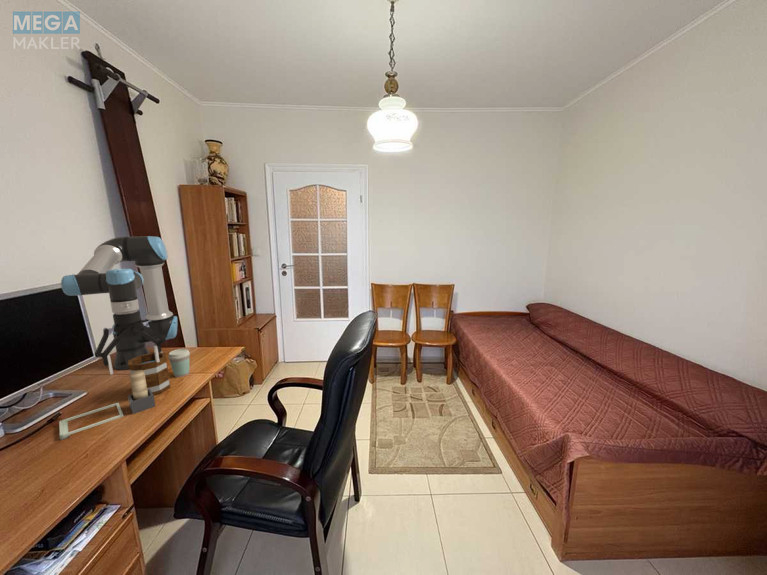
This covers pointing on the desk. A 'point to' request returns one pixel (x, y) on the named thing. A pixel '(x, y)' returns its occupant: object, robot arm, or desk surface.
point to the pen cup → (141, 402)
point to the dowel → (138, 384)
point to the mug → (152, 371)
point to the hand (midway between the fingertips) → (135, 367)
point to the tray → (64, 425)
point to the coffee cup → (179, 362)
